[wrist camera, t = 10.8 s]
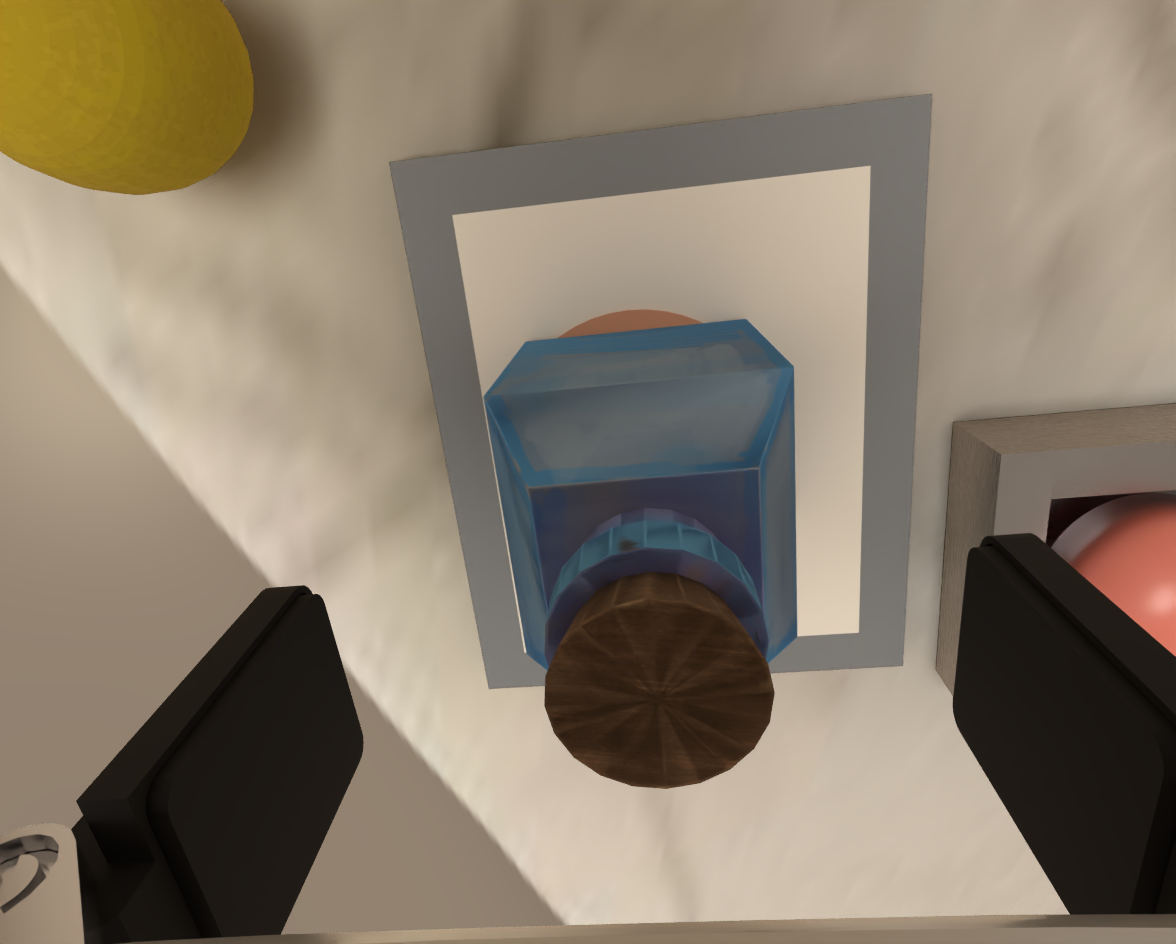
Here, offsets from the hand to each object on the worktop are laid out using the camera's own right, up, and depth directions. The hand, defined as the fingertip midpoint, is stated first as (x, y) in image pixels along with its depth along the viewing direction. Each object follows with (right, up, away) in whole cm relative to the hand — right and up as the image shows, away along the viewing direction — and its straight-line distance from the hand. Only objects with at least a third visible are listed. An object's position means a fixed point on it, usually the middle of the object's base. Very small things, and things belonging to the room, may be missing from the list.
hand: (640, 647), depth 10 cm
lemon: (-11, +13, +9) cm, 20 cm away
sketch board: (+2, +4, +12) cm, 13 cm away
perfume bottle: (+1, +4, +11) cm, 12 cm away
